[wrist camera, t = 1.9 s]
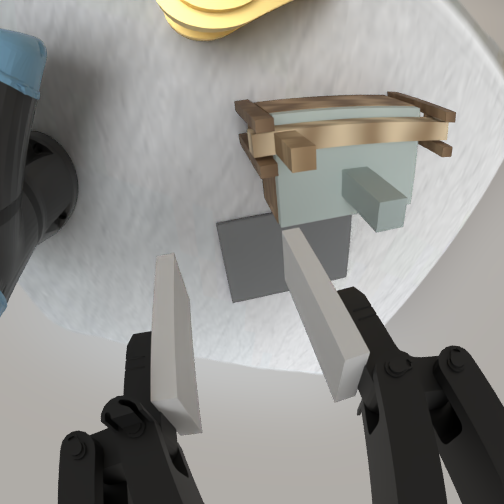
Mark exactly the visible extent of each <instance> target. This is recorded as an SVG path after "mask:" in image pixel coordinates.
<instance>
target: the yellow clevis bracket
mask: <svg viewBox="0 0 504 504" xmlns="http://www.w3.org/2000/svg"><path fill="white" fill-rule="evenodd" d="M156 1H157V2H158V4H159V6H160V8H161V9H162V11H163V12H164V15H165V17H166V19H167V21H168V23H169V24H170V26H171V27H172V28H173V29H174V30H175V31H176V32H177V33H179V34H180V35H182V36H184V37H186V38H188V39H192V40H196V41H211V40H216V39H220V38H222V37H225V36H227V35H229V34H230V33H232V32H234V31H235V30H237V29H239V28H241V27H242V26H244V25H246V24H248V23H250V22H251V21H253V20H255V19H257V18H259V17H261V16H263V15H265V14H267V13H269V12H271V11H273V10H275V9H277V8H279V7H281V6H283V5H285V4H287V3H289V2H291V1H294V0H156Z"/></svg>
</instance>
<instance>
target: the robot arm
mask: <svg viewBox="0 0 504 504" xmlns="http://www.w3.org/2000/svg"><path fill="white" fill-rule="evenodd" d="M46 58H47V51H46V47H45V45H44V43H43V42H42V41H41V40H40V39H38V38H36V37H34V36H31V35H27V34H23V33H19V32H15V31H11V30H6V29H1V28H0V316H1V315H2V313H3V312H4V311H5V309H6V307H7V302H8V300H9V298H10V295H11V294H12V292H13V290H14V287H15V285H16V283H17V281H18V279H19V277H20V276H21V274H22V272H23V270H24V268H25V266H26V264H27V262H28V260H29V259H30V257H31V255H32V253H33V251H34V250H35V248H36V246H37V245H38V244H40V243H41V242H43V241H45V240H46V239H48V238H49V237H51V236H53V235H54V234H56V233H57V232H58V231H59V230H60V229H61V228H62V227H63V226H64V224H65V223H66V221H67V220H68V218H69V217H70V215H71V213H72V211H73V209H74V207H75V204H76V200H77V193H78V183H77V176H76V172H75V168H74V166H73V163H72V161H71V159H70V157H69V156H68V154H67V153H66V151H65V150H64V149H63V147H62V146H61V145H60V144H59V143H58V142H56V141H55V140H54V139H52V138H51V137H49V136H47V135H45V134H43V133H40V132H36V131H31V127H32V122H33V117H34V113H35V108H36V104H37V100H38V99H40V92H39V88H40V84H41V79H42V75H43V71H44V67H45V63H46ZM282 241H283V257H284V274H285V281H286V284H287V286H288V288H289V291H290V293H291V296H292V298H293V300H294V303H295V305H296V308H297V310H298V313H299V315H300V317H301V320H302V322H303V325H304V327H305V330H306V332H307V335H308V337H309V339H310V342H311V344H312V347H313V349H314V352H315V354H316V357H317V359H318V362H319V364H320V367H321V369H322V372H323V374H324V377H325V379H326V382H327V384H328V387H329V389H330V392H331V394H332V397H333V399H334V402H338V401H341V400H344V399H347V398H350V397H353V396H355V395H356V392H357V389H358V390H359V392H360V395H361V397H362V401H361V403H360V405H359V407H358V410H357V415H360V414H361V412H362V417H363V425H364V432H365V439H366V446H367V455H368V462H369V471H370V482H371V492H372V504H447V498H446V491H445V485H444V479H443V473H442V468H441V462H440V457H439V454H440V456H441V458H442V460H443V462H444V464H445V467H446V469H447V471H448V473H449V475H450V477H451V480H452V482H453V484H454V486H455V488H456V490H457V493H458V495H459V498H460V500H461V502H462V504H504V407H503V405H502V403H501V402H500V400H499V398H498V397H497V395H496V393H495V392H494V390H493V389H492V387H491V385H490V384H489V382H488V381H487V379H486V378H485V376H484V374H483V373H482V372H481V370H480V368H479V367H478V365H477V364H476V363H475V361H474V359H473V358H472V356H471V355H470V354H469V353H468V352H467V351H466V350H465V349H463V348H461V347H459V346H449V347H446V348H445V349H443V350H442V351H441V353H440V355H439V356H432V357H412V356H410V355H409V354H407V353H406V352H403V351H400V350H399V349H398V348H397V346H396V345H395V344H394V342H393V340H392V338H391V337H390V335H389V333H388V332H387V330H386V328H385V327H384V325H383V323H382V322H381V320H380V319H379V317H378V315H376V312H375V310H374V309H373V307H371V304H370V303H369V301H368V299H367V298H366V296H365V295H364V294H363V293H362V292H360V291H359V290H358V289H356V288H355V287H354V286H353V287H350V288H346V289H342V290H338V291H336V289H335V287H334V286H333V284H332V282H331V280H330V279H329V277H328V275H327V274H326V272H325V270H324V268H323V267H322V265H321V263H320V261H319V260H318V258H317V256H316V255H315V253H314V251H313V250H312V248H311V246H310V245H309V243H308V241H307V240H306V238H305V236H304V235H303V233H302V231H301V230H300V228H293V229H288V230H283V231H282ZM125 370H126V371H125V378H124V395H123V396H117V397H115V398H113V399H111V400H110V401H109V402H108V403H107V404H106V405H105V406H104V408H103V411H102V413H101V422H102V423H103V424H105V425H106V426H107V427H108V428H107V429H105V430H102V431H100V432H97V433H95V434H92V435H88V434H87V433H86V432H82V431H74V432H71V433H70V434H68V435H67V436H66V437H65V439H64V440H63V441H62V445H61V450H60V463H59V480H58V504H204V502H203V500H202V498H201V496H200V493H199V491H198V489H197V486H196V484H195V482H194V479H193V477H192V474H191V471H190V469H189V466H188V464H187V461H186V459H185V456H184V454H183V451H182V448H181V447H180V445H179V443H178V442H177V435H176V431H177V432H178V433H179V434H180V435H189V434H197V433H202V427H201V418H200V410H199V402H198V393H197V383H196V373H195V363H194V352H193V340H192V327H191V313H190V299H189V296H188V294H187V291H186V288H185V285H184V282H183V279H182V276H181V273H180V270H179V266H178V263H177V260H176V257H175V254H174V253H171V254H166V255H161V256H157V258H156V270H155V282H154V296H153V313H152V331H150V332H144V333H138V334H133V336H132V337H131V339H130V341H129V343H128V345H127V352H126V365H125Z"/></svg>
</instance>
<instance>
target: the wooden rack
mask: <svg viewBox="0 0 504 504" xmlns="http://www.w3.org/2000/svg"><path fill="white" fill-rule="evenodd" d="M234 102H235V110H236V112H237V113H238V114H239V115H240V116H241V117H242V118H243V120H244V121H245V122H246V123H247V124H248V129H252V130H253V131H254V132H255V133H256V134H258V133H265V132H272V131H275V127H274V118H273V117H272V116H271V115H269V113H274V112H283V111H292V110H303V109H315V108H329V107H348V106H415V107H418V108H420V112H423V113H424V117H435V118H437V119H440V120H442V121H444V122H455V118H456V112H454V111H451V110H449V109H446V108H443V107H441V106H438V105H435V104H432V103H429V102H427V101H424V100H421V99H418V98H415V97H411V96H408V95H405V94H402V93H398V92H388V96H385V95H338V96H317V97H303V98H291V99H280V100H271V101H263V102H255V103H252V102H251V101H249V100H248V99H247V100H240V101H234ZM239 140H240V144H241V146H242V147H243V149H244V151H245V152H246V154H247V156H248V157H249V159H250V161H251V162H252V164H253V166H254V168H255V169H256V171H257V173H258V174H259V176H260V178H261V179H263V188H264V198H265V200H266V201H267V203H268V205H269V207H270V209H271V211H272V213H273V215H274V217H275V219H276V221H277V223H279V220H278V207H277V194H276V182H275V177H276V176H279V174H278V163H277V162H276V161H275V160H274V158H273V155H270V156H263V157H257V158H254V157H253V155H252V154H251V152H250V150H249V142H248V134H247V133H242V134H239ZM418 144H420V145H421V146H423V147H425V148H427V149H429V150H430V151H432V152H434V153H436V154H438V155H439V156H441V157H451V155H452V146H450V145H448V144H446V143H444V142H442V141H440V140H428V141H418Z"/></svg>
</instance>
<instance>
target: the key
mask: <svg viewBox="0 0 504 504" xmlns="http://www.w3.org/2000/svg"><path fill="white" fill-rule="evenodd" d="M448 123H449V122H444V121H442V120H440V119H437V118H435V117H374V118H351V119H336V120H323V121H311V122H301V123H292V124H283V125H275V126H274V127H275V131H272V132H265V133H258V134H256V133H255V132H254V131H253V130H252V129H247V134H248V142H249V150H250V152H251V154H252V155H253V157H254V158H257V157H263V156H270V155H277V156H278V157H279V158H280V159H281V160H282V162H283V163H284V164H285V165H286V166H287V167H288V169H289V170H290V171H291V172H292V173H297V172H303V171H310V170H317V164H316V149H322V148H331V147H340V146H350V145H361V144H374V143H388V142H405V141H428V140H447V134H448Z"/></svg>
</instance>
